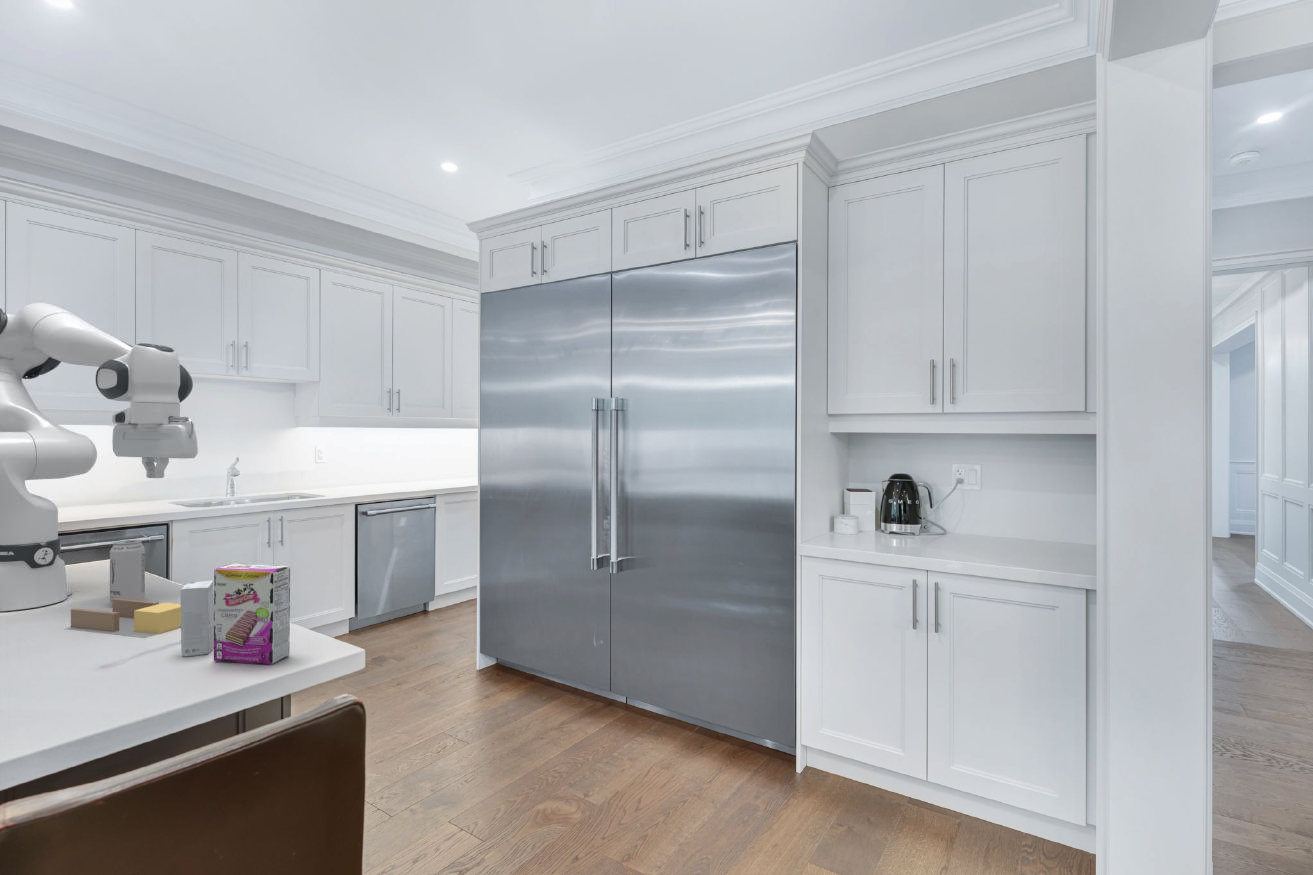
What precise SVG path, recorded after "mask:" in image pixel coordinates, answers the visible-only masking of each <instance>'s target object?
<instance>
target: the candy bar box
mask: <svg viewBox="0 0 1313 875" xmlns="http://www.w3.org/2000/svg"><path fill="white" fill-rule="evenodd" d="M213 572H214V574H213V575H214V577H213V579H214V581H213V590H214V647H213V662H222V663H223V662H225V663H240V664H255V665H256V664H257V665H274V664H277V663H278V662H280V661H282V660H283V659H285V658H287V657H289V656H290V644H291V642H290V635H291V634H290V629H291V628H290V627H291V626H290V618H291V616H290V610H291V600H290V598H291V565H277V564H276V565H275V564H274V565H272V564H257V563H256V564H254V563H253V564H252V563H229V564H226V565H222V566H218V567H217V568H214V570H213Z"/></svg>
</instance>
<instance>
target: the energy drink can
mask: <svg viewBox="0 0 1313 875" xmlns="http://www.w3.org/2000/svg"><path fill="white" fill-rule="evenodd" d="M142 541H143V540H142V539H141V540H140V539H129V540H127V539H125V540H119V541H114V542H113V544H112V547H111V548H110V550H109V608H110V609H112V599H117V598H120V599H130V600H140V601H146V597H145V596H146V589H145V588H146V586H145V585H146V581H145V580H146V561H145V560H146V548H145V546H144V545H143V543H142Z"/></svg>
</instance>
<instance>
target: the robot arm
mask: <svg viewBox="0 0 1313 875" xmlns="http://www.w3.org/2000/svg"><path fill="white" fill-rule="evenodd" d="M61 363H63V364H64V363H65V364H69V365H76V366H84V367H85V366H86V367H96V368H98V369H97V370H96V373H95V386H96V389H98V391H99V394H101V395H102V396H103V397H104V398H106V399H107V400H112V401H116V402H117V401H118V402H128V403H130V405H129V406H130V407H127V408H126V409H123V410H121V411H118V412H115V413H114V414H112V417H111V418H112V419H111V420H112V423H113V424H114V427H113V430H112V440H111V441H112V442H111V443H112V451H113V454H114V455H115V456H116V457H118V458H119V457H121V458H141V463H142V465H143V467H144V469H145V472H146V474H145V475H146V479H164V477H165V470H166V468H167V466H168V465H169V462H170V460H169V459H179V460H180V459H195V458H196V456H197V455H198V452H199V450H198V449H199V448H198V439H197V438H198V437H197V432H196V430H195V424H194V422H193V421H192V420H191V419H190V418H189V417H188V416H181V403H182V402H183V401H184V400H186V399H187V398H188V397H189V395H190V394H191V392H192V390H193V387H194V384H193V383H194V382H193V379H192V376H191V374H190V373H189V371H188V370H187V368H185V366H183V365H182V364H180V360H179V357H178V353H177V351H176V350H175V349H173V348H172V347H169V346H166V345H159V344H154V343H147V342H146V343H143V342H142V343H137V344H134V345H131V344H129V343H127V342H125V341H123V340H120V339H118V338H117V337H115V336H112V335H110V334H108V333H106V332H105V331H103V330H101V329H99V328H98V327H96V326H94V325H92V324H90V323H89V322H87V321H86V320H84V319H82V318H80V317H79V316H77V315H76V314H74V313H73V312H70V311H69V310H66V309H64V308H62V307H59V306H56V305H54V304H51V303H47V302H32V303H29V304H27V305H25V306H24V307H22V308H21V309H19V311H18V312H17V313H13V314H11V313H10V314H9V313H6V312H4V310H3V308H0V612H8V611H10V612H11V611H20V610H27V609H33V608H39V607H43V606H49V605H53V604H56V603H60V602H62V601H65V600H67V599H68V596H70V595H72V594H73V589H72V588H68V580H67V572H66V571H67V570H66V564H65V561H64V560H63V559H62V558H60V556H59V555H60V554H61V551H62V550H61V548H62V543H61V539H60V538H59V509H58V506H57V505H56V504H55V503H54V502H53V501H51V500H50V499H48V498H46V497H42V496H40V495H38V494H34V493H30V492H29V490H28V488H27V487H26V481H32V480H34V481H36V480H52V479H53V480H55V479H57V480H58V479H66V478H71V477H76V476H80V475H84V474H87V473H89V471H91V470H92V468H93V467H94V466H95V464H96V461H97V458H98V452H97V451H98V450H97V447H96V445H95V443H94V442H93V440H91V439H90V438H89V437H88V436H86V435H84V434H81V433H77V432H75V431H72V430H70V429H67V428H66V427H63V426H61V425H59V424H57V423H56V422H54V421H53V420H51V419H50V418H49V417H47V416H46V415H45V414H44V413H42V412H41V411H40V410H39V409H38V407H37V406H36V403H35V402H34V401H33V399H32V397H31V396H30V392H28V390H27V387H26V385H25V384H24V382H23V379H24V380H32V379H35V378H38V377H39V376H43V375H45V374H47V373H50V372H51V371H53V370H55V369H56V368H57V367H59V365H60V364H61Z"/></svg>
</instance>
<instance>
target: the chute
mask: <svg viewBox="0 0 1313 875" xmlns="http://www.w3.org/2000/svg"><path fill="white" fill-rule="evenodd" d="M157 604H160V602H158V601H148V600H145V601H140V600H130V599H120V598H117V599H112V608H111V610H112V611H108V610H99V609H91V608H90V609H88V608H80V607H79V608H78V607H76V608H71V609H70V626H69V627H66V628H65V630H69V631H70V630H71V631H78V632H79V631H80V632H86V633H87V632H88V633H95V634H96V633H97V634H105V635H114V636H123V637H132V638H140V639H141V638H142V639H146V638H151V637H153V636H156V635H158V634H156V633H147V632H138V631H134V610H138V609H142V608H146V607H150V606H153V605H157ZM170 631H171V630H169V631H168V632H170Z"/></svg>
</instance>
